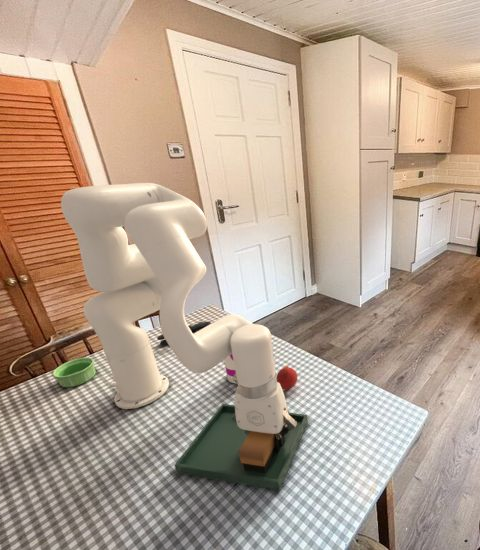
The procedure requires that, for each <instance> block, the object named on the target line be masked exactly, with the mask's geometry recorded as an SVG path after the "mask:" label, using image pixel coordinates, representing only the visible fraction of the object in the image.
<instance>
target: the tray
mask: <svg viewBox="0 0 480 550" xmlns="http://www.w3.org/2000/svg"><path fill="white" fill-rule="evenodd" d="M234 414H235V404H227V403H222V404H221V405H220V406H219V407H218V408H217V410H216V411H215V413H214V414H213V415H212V416H211V418H210V419H209V420H208V421H207V423H206V424H205V426H204V427H203V428H202V430H200V432H199V433H198V434H197V436H195V438H194V440H193V441H192V442H191V443H190V445H189V446H188V447H187V448H186V450H185V451H184V452H183V454H182V455H181V456H180V457H179V459H178V460H177V462H176V463H175V464H174V469H175V472H176V474H180V475H185V476H191V477H197V478H203V479H208V480H209V479H210V480H215V481H221V482H225V483H226V482H227V483H232V484H233V483H234V484H238V485H244V486H250V487H257V488H263V489H267V490H268V489H269V490H272V491H273V490H274V491H281V489H282V486H283V484H284V481H285V479H286V477H287V474H288V472H289V469H290V467H291V464H292V462H293V460H294V457H295V455H296V452H297V449H298V447H299V444H300V442H301V440H302V437H303V435H304V432H305V430H306V428H307V426H308V425H307V424H308V423H309V420H308V414H305V413H304V414H303V413H302V414H301V413H296V412H289V411H288V414H289V415H290V416H291V417H292V418H293V419H294V420H295V421H296V422H297V424H296V427H295V428H294V429H293V430H291V431H288V433H287V434H285V435H284V436H285V443H284V446H283V447H281V449H280V451H279V452H275V454H274V456H273V458H272V460H271V462H270V465H269V467H268V469H267V471H266V473H260V472H254V471H248V470H244V466H243V463H241V461H240V456H239V452H238V451H239V449H240V448H241V446H242V444H243V443H244V441H245V439H246V438H247V436H248V435H246V434H245V430H243V429H241V428H239V427H238V425H237V423H236V422H235V421H233V420H232V417H233V415H234Z"/></svg>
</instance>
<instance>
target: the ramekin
mask: <svg viewBox="0 0 480 550" xmlns="http://www.w3.org/2000/svg"><path fill="white" fill-rule="evenodd" d="M96 373H97V372H96V367H95V361H94V359H93V358H91V357H79V358H75V359H71V360H69V361H67V362H64V363H62V364H61V365H59V366H58V367H56V368H54V370H53V371H52V376H53V378H55V380H56V381H57V382H58V384H59V385H60V386H61V387H63V388H73V387H76V386H80V385H82V384H85V383H87V382H88V381H89V380H91V379H92V378H93V377H95V375H96Z"/></svg>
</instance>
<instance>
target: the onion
mask: <svg viewBox="0 0 480 550" xmlns="http://www.w3.org/2000/svg"><path fill="white" fill-rule="evenodd" d="M276 378H277V382H278V383H280V385H281V387H282V390H283V391H284V390H285V391H287V390H288V391H289V390H290V389H293V387H295V385H296V384H297V382H298V373H297V371H296V370H295V369H294V368H292V367H290V366H289V365H287V364H285V365H284V366H283V368H281V369H280V370H279V371H278V372H277V373H276Z"/></svg>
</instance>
